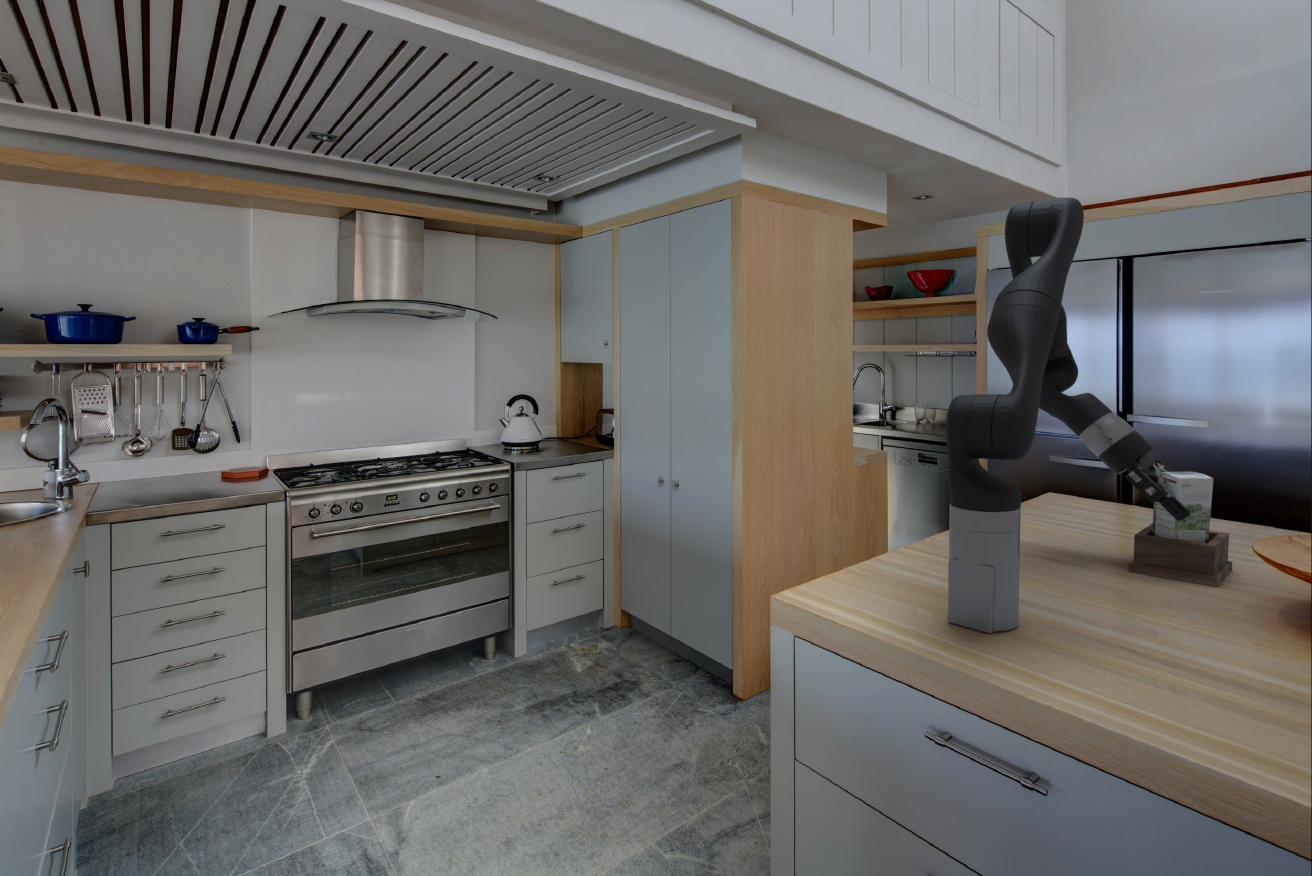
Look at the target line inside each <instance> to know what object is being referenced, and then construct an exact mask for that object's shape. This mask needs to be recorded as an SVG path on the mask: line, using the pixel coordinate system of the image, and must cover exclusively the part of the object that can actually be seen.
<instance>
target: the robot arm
mask: <svg viewBox="0 0 1312 876" xmlns="http://www.w3.org/2000/svg"><path fill="white" fill-rule="evenodd" d="M1084 219H1085V213H1084V208H1083V206H1082V202H1080V200H1078V199H1077V198H1074V197H1070V196H1069V197H1056V198H1055V197H1054V198H1047V199H1040V200H1033V201H1031V200H1030V201H1026V202H1020V203H1016V204H1014V205H1012V207H1010V209H1009V211H1008V213H1007V215H1006V218H1005V224H1004V242H1005V249H1006V250H1005V251H1006V255H1007V258H1008V264H1009V268H1010V273H1011V276H1012V280H1011V281H1009V283H1008V284H1006V285H1005V286H1004V287H1003V288H1002V289H1001V291H1000V292H999V293H998V294H997V297H996V298H995V300H994V303H993V307H992V309H991V313H990V317H989V320H988V325H987V327H986V336H987V340H988V343H989V345H990V347H991V349H992V351H993V352H994V354H995V355H996V357H997V358H998V360H999V361H1000V363H1001V364H1002V365H1003V366H1004V368H1005V369H1006V371H1007V374H1008V375H1009V377H1010V380H1011V382H1012V388H1011V389H1010V392H1009V393H1006V394H1001V393H999V394H998V393H996V394H995V393H993V394H987V393H986V394H983V393H982V394H959V395H957V396H954V398H953V399H952V400H951V402H950V404H949V406H948V409H947V413H946V423H945V425H946V426H945V432H946V433H945V436H946V453H947V454H946V455H947V482H948V484H947V485H948V492H949V527H948V528H949V529H948V531H949V533H948V535H949V537H948V543H949V544H948V546H949V547H948V564H947V565H948V571H947V572H948V577H947V578H948V579H947V580H948V581H947V583H948V584H947V586H948V589H947V592H948V593H947V598H948V599H947V621H948V622H947V623H951V624H955V625H959V626H962V627H965V628H969V629H972V630H977V631H980V632H985V633H987V634H993V633H994V632H995V633H996V632H1006V631H1010V630H1014V629H1016V628H1017V627H1018V626H1019V624H1020V623H1019V617H1020V615H1019V613H1020V563H1021V562H1020V561H1021V555H1020V554H1021V522H1022V521H1021V517H1022V513H1021V512H1022V507H1021V506H1022V493H1021V490H1020V488H1019V486H1017V485H1015V484H1014V483H1012V482H1009V481H1007V480H1004V479H1002V478H999V477H998V476H996V475H994V474H992V473H990V472H989V471H988V470H987V469H986V468H984V467H983V466H982V465H981V463H980V460H979V459H982V460H983V459H984V460H996V461H997V460H998V461H999V460H1000V461H1001V460H1002V461H1015V460H1022V459H1024V458H1025V457H1026V456H1027V454H1028V453H1029V452H1030V450H1031V448H1032V446H1033V442H1034V438H1035V434H1036V429H1037V428H1036V427H1037V422H1038V414H1039V410H1040V411H1044V412H1045V413H1047V415H1048V414H1049V415H1050V416H1051V417H1054V418H1056V419H1057V420H1060V422H1062V423H1064V424H1065V425H1066V426H1067V428H1069V429H1070V430H1071V431H1072V432H1073V433H1074V434H1076V436H1077V437H1079V439H1080V440H1081V441H1082V443H1083V444H1084V445H1085V446H1086V447H1087V448H1088V449H1089V450H1090V451H1091V452H1092V454H1094V455H1095V456H1096V457H1097V458H1098V459H1099V460H1101V462H1102V463H1103V464H1105V466H1106V467H1107V468H1109V470H1110V471H1112V473H1114V474H1115V475H1120V474H1122V473H1124V472H1127V471H1128V474H1126V475H1125V476H1124V478H1125V479H1126V480H1127V481H1128V482H1129V483H1130V484H1131V485H1132V486H1133V487H1134V488H1135V489H1137V490H1138V492H1140V494H1142V496H1144V498H1146V499H1147V501H1148V502H1150V503H1152V504H1154V503H1157V504H1158V505H1160V504H1161V506H1163V507H1164V508H1165V509H1166V510H1167V511H1168V512H1169V513H1170V514H1171V515H1172V516H1173V517H1174V518H1175V519H1176V520H1178V521H1181V520H1183V519H1185V518H1186V517H1188V516H1189V515H1190V514H1191V513H1190V511H1189V510H1188V509H1187V508H1186V507H1184V506H1183V505H1182V504H1181V503H1180V502H1179V501H1178V500H1177V499H1176V498H1175V497H1174V496H1173V497H1172V494H1171V493H1170V491H1169V490H1168V489H1167V486H1168V483H1167V482H1166V481H1165V479H1164V478H1163V477H1162V475H1161V472H1174V471H1173V470H1171V469H1170V468H1169V467H1168V466H1167V465H1166V464H1165V463H1164V462H1163V461H1162V460H1161V459H1159V458H1157V459H1156V460H1154V461H1153V460H1151V459H1150V458H1149V457H1148V456H1149V455H1150V454H1151V453H1153V452H1154V450H1155V447H1154V446H1153V444H1151V443H1150V441H1148V440H1147V439H1146V438H1145V437H1144V436H1142V435H1141V434H1140V433H1139V432H1138V431H1137V430H1136V429H1135V428H1133V426H1131V425H1130V424H1129V423H1128V422H1127V421H1126V420H1125V419H1124V418H1122V417H1120V416H1119V415H1117V414H1116V413H1115V412H1114V411H1113V410H1111V409H1110V408H1109V407H1108V405H1106V404H1105V403H1104V402H1103V401H1101V400H1100V399H1099V398H1098V397H1097V396H1096V395H1094V394H1093V393H1090V392H1084V393H1080V394H1077V395H1068V394H1065V393H1064V392H1065V391H1067V390H1068V389H1070V388H1072V387H1073V386H1074V385H1075V384H1076V382H1077V379H1078V378H1079V377H1078V376H1079V368H1078V365H1077V362H1076V360H1075V358H1074V356H1073V352H1072V350H1071V348H1070V346H1069V343H1068V322H1067V321H1068V320H1067V319H1068V318H1067V313H1066V310H1065V308H1064V306H1063V304H1062V302H1063V297H1064V294H1065V293H1064V291H1065V287H1066V282H1067V279H1068V276H1069V273H1070V268H1071V266H1072V264H1073V260H1074V258H1075V254H1076V253H1077V250H1078V247H1079V244H1080V240H1081V236H1082V233H1083V228H1084V223H1085V222H1084V221H1085V220H1084ZM1032 258H1038V259H1037V260H1036V261H1034V262H1033V261H1032ZM1171 497H1172V498H1171Z"/></svg>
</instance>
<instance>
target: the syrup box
mask: <svg viewBox="0 0 1312 876" xmlns="http://www.w3.org/2000/svg"><path fill="white" fill-rule="evenodd" d="M1161 475H1162V477H1163V478H1164V479H1165V481H1166V482H1167V483H1168V486H1167V489H1168V490H1169V491H1170V493H1171V494H1172V497H1173V496H1174V497H1175V498H1176V499H1177V500H1178V501H1179V502H1180V503H1181V504H1182V505H1183V506H1184V507H1186V508H1187V509H1188V510H1189V511H1190V513H1191V514H1190V515H1189V516H1188V517H1186V518H1185V519H1183V520H1181V521H1178V520H1176V519H1175V518H1174V517H1173V516H1172V515H1171V514H1170V513H1169V512H1168V511H1167V510H1166V509H1165V508H1164V507H1163V506H1161V504H1160V505H1158V504H1157V503H1153V510H1152V511H1153V513H1152V524H1153V526H1152V536H1157V537H1164V538H1171V539H1178V540H1185V541H1192V542H1200V543H1207V544H1208V540H1209V531H1210V528H1211V527H1210V526H1211V525H1210V524H1211V514H1212V501H1213V500H1212V499H1213V487H1214V478H1213V477H1211V476H1209V475H1207V474H1204V473H1200V472H1197V471H1196V472H1195V471H1173V472H1161ZM1172 497H1171V498H1172Z"/></svg>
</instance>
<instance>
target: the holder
mask: <svg viewBox="0 0 1312 876" xmlns="http://www.w3.org/2000/svg"><path fill="white" fill-rule="evenodd" d="M1152 526H1153V523H1150V524H1149V525H1147V526H1146V527H1144V528H1143V529H1141V530H1140V531H1138V532H1137V533H1135V534H1134V536H1133V538H1134V539H1133V558H1132V560H1130V561H1129V562H1128V569H1127V572H1132V573H1136V574H1137V573H1138V574H1143V575H1149V576H1152V577H1153V576H1155V577H1159V578H1160V577H1161V578H1165V579H1171V580H1177V581H1182V582H1189V583H1194V584H1199V585H1205V586H1210V587H1216V588H1217V587H1218V586H1219V585H1220V584H1221V583H1222V582H1223V581H1224V580H1225V578H1227V576H1228V575H1229V574H1230V573H1231V572H1232V571H1231V570H1233V561H1231V560H1229V546H1230V545H1229V542H1230V533H1227V532H1220V531H1219V532H1218V531H1213V530H1209V540H1208V544H1207V543H1200V542H1192V541H1185V540H1178V539H1171V538H1164V537H1157V536H1152ZM1230 571H1231V572H1230Z"/></svg>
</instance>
